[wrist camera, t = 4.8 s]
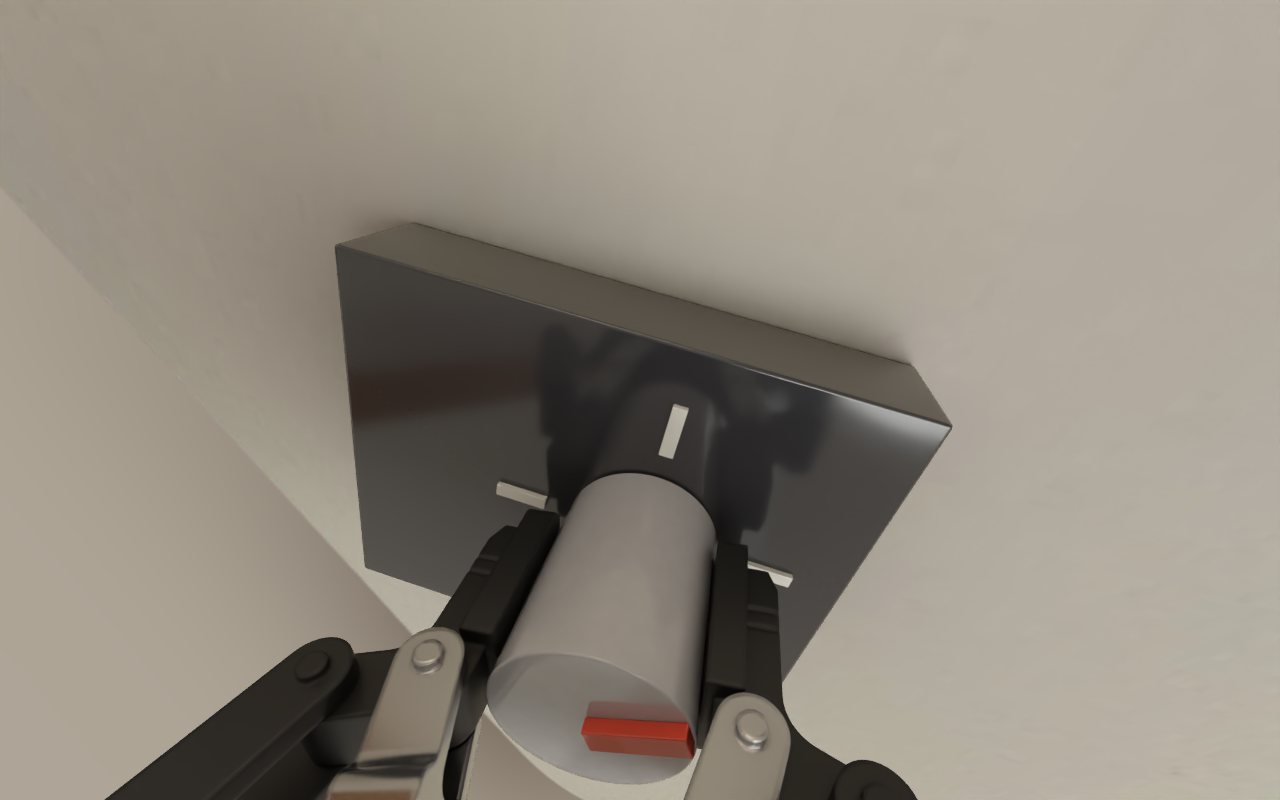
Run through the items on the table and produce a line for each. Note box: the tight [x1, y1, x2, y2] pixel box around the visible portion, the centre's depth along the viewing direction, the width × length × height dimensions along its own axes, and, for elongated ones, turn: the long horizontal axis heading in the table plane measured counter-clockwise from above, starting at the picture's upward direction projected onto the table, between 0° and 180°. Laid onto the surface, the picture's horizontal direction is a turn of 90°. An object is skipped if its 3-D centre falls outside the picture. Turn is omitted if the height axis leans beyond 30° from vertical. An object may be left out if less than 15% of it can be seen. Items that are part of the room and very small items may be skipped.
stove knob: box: [486, 473, 716, 784], centre depth 11 cm, size 4×4×5 cm
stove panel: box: [335, 223, 952, 682], centre depth 15 cm, size 14×11×3 cm
